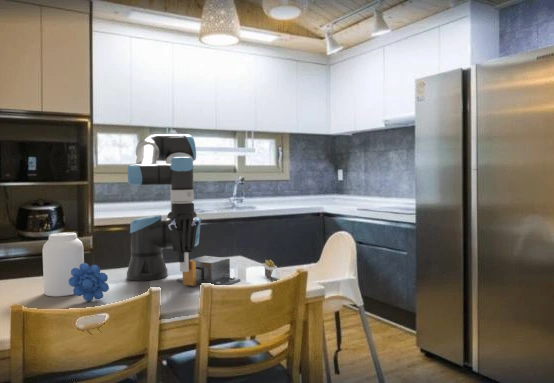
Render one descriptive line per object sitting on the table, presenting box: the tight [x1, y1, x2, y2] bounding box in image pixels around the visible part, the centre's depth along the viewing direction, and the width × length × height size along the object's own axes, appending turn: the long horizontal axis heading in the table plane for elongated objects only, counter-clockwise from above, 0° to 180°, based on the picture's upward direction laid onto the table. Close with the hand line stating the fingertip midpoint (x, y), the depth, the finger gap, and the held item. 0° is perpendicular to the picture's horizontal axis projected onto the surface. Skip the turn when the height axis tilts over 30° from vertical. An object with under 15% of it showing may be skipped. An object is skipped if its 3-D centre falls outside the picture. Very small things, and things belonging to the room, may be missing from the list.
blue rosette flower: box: [68, 262, 110, 302], centre depth 137 cm, size 12×7×12 cm, turn 104°
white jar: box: [42, 232, 85, 298], centre depth 149 cm, size 12×12×20 cm
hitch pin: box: [182, 260, 204, 287], centre depth 160 cm, size 5×16×8 cm, turn 147°
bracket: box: [176, 255, 241, 286], centre depth 162 cm, size 20×12×8 cm, turn 57°
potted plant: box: [261, 259, 278, 281], centre depth 165 cm, size 12×18×7 cm, turn 16°
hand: (184, 271), depth 152 cm, fingers closed
